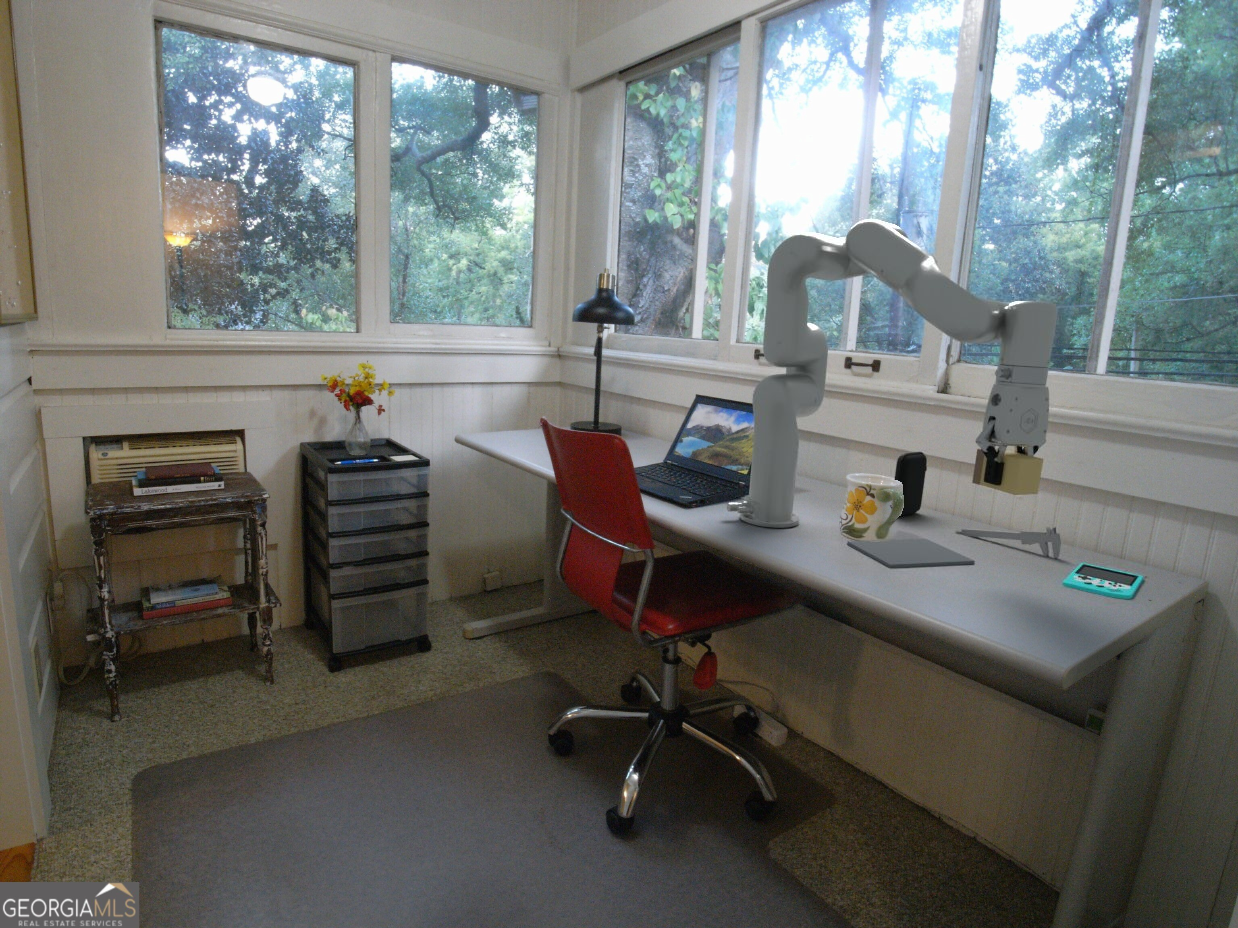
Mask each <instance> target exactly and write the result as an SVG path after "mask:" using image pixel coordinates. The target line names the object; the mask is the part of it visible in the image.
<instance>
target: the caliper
mask: <svg viewBox="0 0 1238 928" xmlns="http://www.w3.org/2000/svg"><path fill="white" fill-rule="evenodd" d="M1045 528H1046V529H1045V531H1038V530H1020V532H1019V531H1018V532H1017V531H1004V530H989V529H976V528H961V529H960V530H956V531H955V534H961V535H962V534H963V536H965V537H966V536H967V537H973V538H974V537H975V538H986V539H987V538H988V539H999V540H1000V539H1002V540H1014V541H1020V542H1021V545H1028V546H1031V545H1034V544H1038V546H1039V547H1040V549H1041V552H1042V553H1041V554H1042V555H1043V557H1049V556H1050V555H1049V554H1050V550H1049V543H1051V546H1052V554H1053V559H1054V560H1055V559H1057V558H1059V557H1060V553H1061V547H1062V541H1061V540H1062V539H1061V533H1060V532H1057V527H1056V526H1055V527H1052V528H1051V527H1050V526H1048V527H1045Z"/></svg>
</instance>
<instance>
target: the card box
mask: <svg viewBox="0 0 1238 928" xmlns="http://www.w3.org/2000/svg"><path fill="white" fill-rule="evenodd" d="M998 448H999V447H998ZM998 448H996V447H995V450H996V451H997V450H998ZM976 449H977V450H976V456H975V463H974V470H973V476H972V481H971V483H972V484H975V485H979V486H982V487H983V486H984V487H986V488H989V489H993V490H996V491H1000V492H1003V493H1007V494H1010V495H1014V496H1024V495H1038V494H1039V493H1038V492H1039V487H1040V481H1041V475H1042V470H1043V464H1044V458H1040V457H1037V456H1034V457H1033V456H1029V455H1024V454H1020V453H1016V452H1015V451H1012V450H1011V451H1010V450H1007V449H1006V451H1005V454H1004V456H1003V459H1002V461H1001V462H1004V469H1003V475H1002V481H1001V485H998V486H997V485H993V484H990V483H986V482H984V474H985V468H986V461H987V459H985V458H984V453H983V452H982V450H981V448H976Z"/></svg>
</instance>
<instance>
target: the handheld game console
mask: <svg viewBox="0 0 1238 928" xmlns="http://www.w3.org/2000/svg"><path fill="white" fill-rule="evenodd" d="M1143 580H1144V576H1143V575H1140V574H1135V573H1130V572H1126V571H1121V570H1118V569H1117V570H1116V569H1112V568H1107V567H1103V566H1097V565H1093V564H1090V563H1085V562H1080V564H1078V566H1077V567H1076V568H1075V569H1074V570H1073V571H1072V572H1071V573H1070V574H1069V575H1068V576H1067V577H1066V578H1065V579H1064V580H1063V581H1062V586H1063V587H1066V588H1071V589H1076V590H1079V591H1085V592H1088V593H1093V594H1097V595H1100V596H1101V595H1102V596H1106V597H1111V598H1115V599H1124V600H1125V599H1126V600H1128V599H1129V600H1130V599H1132V598H1133V596H1134V595H1135V593H1136V592H1137V590H1138V588H1139V586H1140V585H1141V584H1142V582H1143Z"/></svg>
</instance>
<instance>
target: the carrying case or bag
mask: <svg viewBox="0 0 1238 928" xmlns="http://www.w3.org/2000/svg"><path fill="white" fill-rule="evenodd" d="M927 461H928V460H927V456H926V454H924V452H922V451H913V452H906V453H905V452H904V453H903V454H901V455H900V456H898V458H897V459H896V466H895V473H894V480H898V481H900V482H902V484H903V495H904V508H903V511H902V514H901V516H900V517H903V515H904V516H908V515H914V514H915V513H917V512H919V511H920V510H921V507H922V502H923V495H924V488H925V479H926V472H927V471H928V467H927V466H928V465H927Z"/></svg>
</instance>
